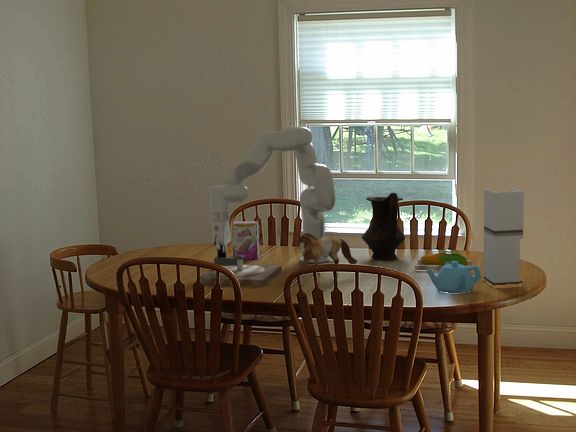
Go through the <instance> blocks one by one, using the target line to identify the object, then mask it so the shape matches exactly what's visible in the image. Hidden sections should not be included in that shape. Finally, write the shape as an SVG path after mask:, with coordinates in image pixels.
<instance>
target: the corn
mask: <svg viewBox="0 0 576 432" xmlns="http://www.w3.org/2000/svg"><path fill="white" fill-rule="evenodd" d="M433 252H434V253H430V254H428V253H427V254H424V255H423V256H421V257H420V259H421V260H422V261H423V262H425V263H427V264H425V265H440V266H444V265H445V262H449V264H451V261H458V262H459V263H458V264H461V265H465V266H466V265H467V261H468V259H467V258H466V256H465V255H464V254H462V253H461V252H456V251H452V250H433ZM435 252H437V253H435ZM438 252H439V253H438Z"/></svg>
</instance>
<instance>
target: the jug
mask: <svg viewBox="0 0 576 432" xmlns="http://www.w3.org/2000/svg"><path fill="white" fill-rule="evenodd" d="M365 200H367V201H370V204H371V209H372V215H371V216H372V221H371V223H370V226H369V227H368V228H367V229H366V231H365V232H363V234H362V236H361V239H362V241H363V242H364V243H365V244H366V245H367V247H368V248H369V249H370V250H371V251H372V255H371V259H372V260H375V261H380V262H381V261H383V262H384V261H385V262H386V261H387V262H388V261H396V260H398V256H397V254H396V250H397V249H398V248H399V247H400V246H401V244H402V243H403V242H404V241H405V240H406V236H405V234H404V232H403V231H402V229H401V227H400V226H399V225H398V216H399V215H398V213H399V210H398V209H399V201H403V200H404V199H403V197H400V196H398V193H397V192H390V193H389V194H388V195H387V196H367V197H365Z"/></svg>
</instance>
